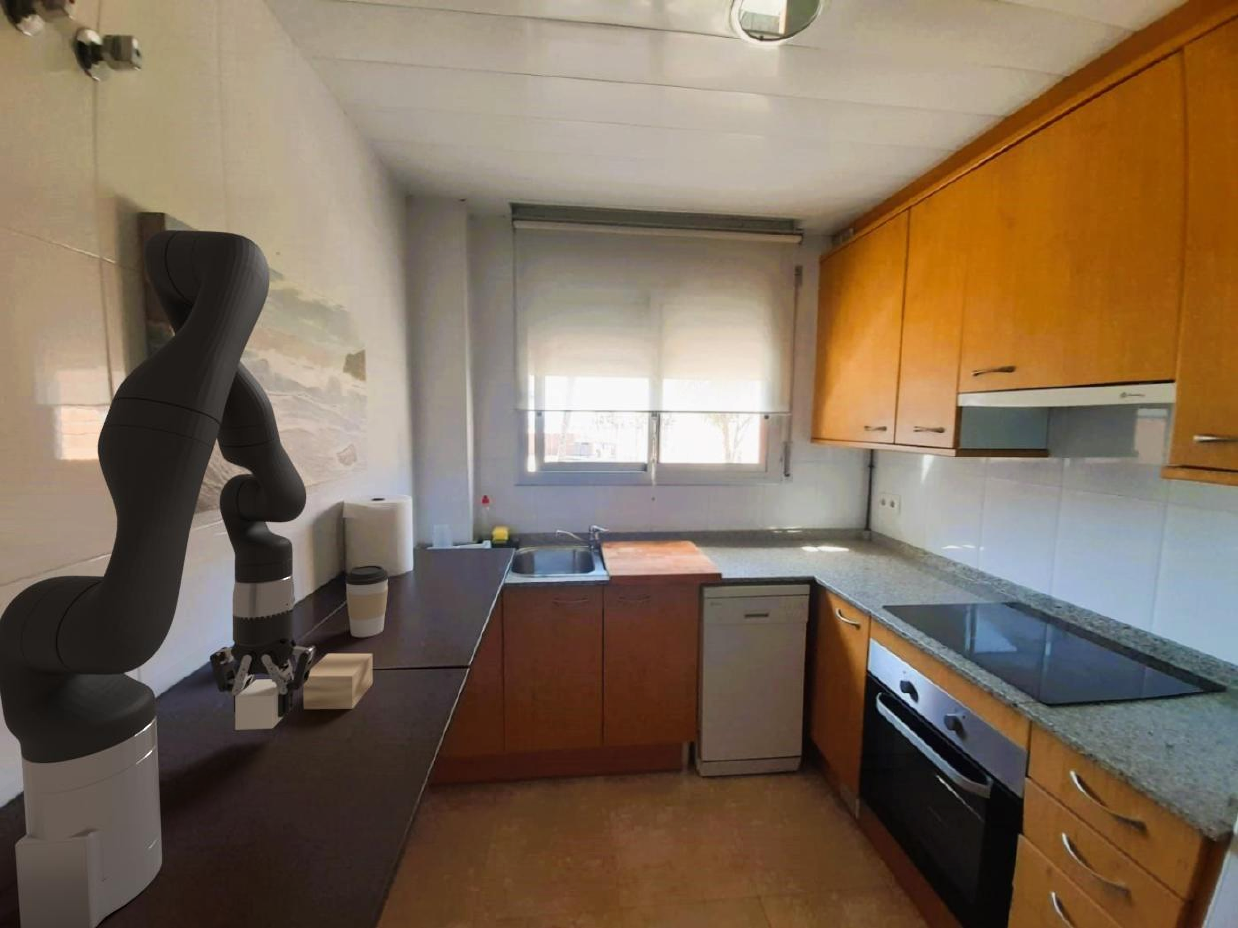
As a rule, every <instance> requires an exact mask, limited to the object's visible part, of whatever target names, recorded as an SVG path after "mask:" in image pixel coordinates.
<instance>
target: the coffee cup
mask: <svg viewBox="0 0 1238 928" xmlns="http://www.w3.org/2000/svg"><path fill="white" fill-rule="evenodd" d="M388 573H389V571H387V570H386V569H384V567H383V566H380V565H373V564H371V565H363V566H354V567H352V568H351V569H350V572H349V573H348V574H346V577H345V580H344V583H345V585H346V591H345V593H346V603H347V611H348V612H347V613H348V617H349V625H350V634H351V636H352V637H353V638H354V637H355V638H367V637H372V636H376V635H378V634H381V633H382V632H383V630H384V629H385V628H384V626H385V613H386V610H387V601H388V590H389V586H388V581H389V578H390V575H389V574H388Z"/></svg>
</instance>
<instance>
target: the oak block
mask: <svg viewBox="0 0 1238 928" xmlns="http://www.w3.org/2000/svg"><path fill="white" fill-rule="evenodd" d="M373 671H374V670H373V653H327V654H325V655H324V657H322V658H321V659H320V660H319V661H318V662H317V663H315V665H313V666H312V667H311V670H310V674H309V677H308V680H307V681H306V682H305V683H304V684H303V685H302V686H303V693H302V694H303V695H302V697H303V710H323V709H324V710H342V709H343V710H345V709H346V710H350V709H351V710H353V709H354V708H355V707H356V705H357V704H358V703H359V701H361V699H362V698H363V696H364V694H366V692H367V691H368V690H369V688H370V687H372V684H373V683H374V682H373V679H374V678H373V674H374V673H373Z"/></svg>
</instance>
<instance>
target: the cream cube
mask: <svg viewBox="0 0 1238 928" xmlns="http://www.w3.org/2000/svg"><path fill="white" fill-rule="evenodd" d="M279 694H280V693H279V691H278V688H277V686H276V683H275V682H272V680H271V678H270V679H255V680H254V681H252V682H251V684H250V685H249V686H248V687H247V688H246V689H244V690H243V691H242V692H241V693H240V694H238V695H237V696H236V697H235V713H234V716H235V718H234V720H235V725H234V728H235V730H236V731H237V730H239V731H243V730H263V729H264V730H265V729H267V730H268V729H271V730H272V729H273V728H275V726H276V725H277V724H278V723H279V722H280V721H281V720H283V718H284V717H278V695H279Z"/></svg>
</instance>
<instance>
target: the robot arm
mask: <svg viewBox="0 0 1238 928" xmlns="http://www.w3.org/2000/svg"><path fill="white" fill-rule="evenodd" d="M262 250H263V249H261V247H259V245H258V244H256V243H255V242H254V241H253V240H251V239H250V238H248V237H246V236H244V235H243V234H242V235H241V234H237V233H232V232H226V231H213V230H184V229H183V230H182V229H181V230H179V229H178V230H177V229H170V230H169V229H166V230H160V231H156V232H154V233H153V234H152V235H150V236H149V237H148V239H147V241H146V242H145V243H144V248H143V263H144V267H145V271H146V274H147V276H148V277H147V278H148V280H149V283H150V285H151V287H152V291H153V292H154V295H155V296H156V298H157V301H158V303H159V305H160V307H161V308H162V312H163V313H164V315H165V317H166V319H167V321H168V323H169V325H170V327H171V329H172V331H173V333H174V335H173V336H172V337H171V338H169V339H168V340H167V341H166V342H165V343H164V344H163V345H161V346H159V348H158V349H156V350H155V351H154V352H153V353H151V354H150V356H148V357H147V358H145V360H143V361H142V362H141V363H140V364H139V365H138V366H137V367H135V368H134V369H133V370H132V371H131V372H130V373H129V374H128V375H127V376H126V377H125V378H124V379H123V381H122V382H121V383H120V385H119V386H118V388H117V390H116V391H115V394H114V396H113V398H112V401H111V403H110V406H109V409H108V411H107V414H106V417H105V419H104V422H103V425H102V427H101V430H100V433H99V437H98V439H97V440H98V441H97V456H98V463H99V465H100V469H101V472H102V476H103V477H104V478H103V479H104V481H105V483H106V486H107V488H108V491H109V494H110V497H111V499H112V502H113V505H114V506H113V507H114V509H115V514H116V534H115V539H114V543H113V548H112V551H111V554H110V558H109V561H108V563H107V567H106V569H105V572H104V574H103V575H102V576H100V575H62V576H54V577H49V578H46V579H43V580H41V581H37V582H35V583H33V584H31V585H29V586H27V588H24V589H23V590H22V591H21V592H19V593H18V594H17V595H16V596H15V597H14V598H13V599H12V600H11V601H10V602H9V604H8V605H7V606H6V608H5V609H4V611H3V613H2V614H1V616H0V701H1V708H2V715H3V716H2V717H3V719H4V723H5V726H6V727H7V730H8V731H9V732H10V733H11V734H12V735H13V737H15V738H16V740H18V742H19V744H20V745H19V746H20V755H21V756H20V757H21V766H22V767H21V768H22V769H21V770H22V785H23V787H22V788H23V801H24V803H23V804H24V814H25V815H24V816H25V830H26V834H25V835H24V836H23V837H22V838H20V839H19V840H18V841H17V842H16V843H15V846H14V847H15V849H14V850H15V862H16V864H15V865H16V877H17V892H18V893H17V894H18V906H19V919H20V928H96V927H98V925H99V924H100V923H101V922H102V921H103V920H104V919H105V918H106V917H108V916H109V915H110V914H112V913H113V912H115V911H117V910H118V909H120V908H122V907H123V906H125V905H127V904H128V903H130V902H131V901H132V900H133V899H134V898H136V897H137V896H138V895H139V894H140V893H141V892H143V891H144V890H145V889H146V888H147V887H148V886H149V885H150V884H151V883H152V882H153V880H154V879H155V878H156V876H157V874H158V873H159V871H160V870H161V867H162V865H163V853H162V851H163V850H162V849H163V848H162V847H163V846H162V826H161V825H162V823H161V821H162V819H161V802H160V801H161V800H160V778H159V755H158V751H159V750H158V728H157V704H156V703H157V701H156V695H155V693H154V691H153V689H152V688H151V687H150V686H149V685H147V684H145V683H143V682H141V681H139V680H136V679H135V678H133V677H131V676H129V675H128V674H127V673H129V672H132V671H134V670H136V669H138V668H140V667H142V666H143V665H145V664H146V663H147V662H148V661H150V659H152V658H153V657H154V656H155V655H156V653H157V652H158V651H159V649H161V647H162V645H163V643H164V642H165V640H166V639H167V636H168V634H169V632H170V629H171V627H172V624H173V621H174V618H175V614H176V612H177V611H176V610H177V606H178V602H179V596H180V591H181V590H180V589H181V584H182V579H183V573H184V566H185V560H186V555H187V548H188V543H189V537H190V532H191V529H192V523H193V520H194V517H195V511H196V508H197V504H198V500H199V497H200V492H201V488H202V485H203V482H204V478H205V475H206V471H207V468H208V466H209V463H210V460H211V457H212V455H213V452H214V449H215V445H216V441H217V444H218V448H219V451H220V454H221V455H222V458H223V459H224V460H225V461H226V462H227V463H229V464H232V465H235V466H237V467H241V468H244V469H246V470H248V472H250V473H241V474H237V475H234V476H233V477H230V479H228V481H227V482H226V483H225V484H224V485H223V487H222V489H221V492H220V496H219V502H218V503H219V510H220V511H219V512H220V514H221V518H222V521H223V523H224V526H225V529H226V532H227V535H228V539H229V542H230V544H231V546H232V550H233V552H234V586H233V591H232V641H233V642H234V643H233V646H232V647H228V646H224V647H221V648H220V649H219V650H216V651H215V652H214V653H212V654H211V655H210V656H209V660H210V664H211V665H210V666H211V669H212V671H213V675H214V678H215V681H216V685H217V689H218V691H219V692H221V693H224V692H229V693H231V695H233V712H234V714H235V697H236V696H237V695H238V694H240V693H241V692H242V691H243V690H244V689H246V688H247V687H248V686H249V685H250V684H252V683H253V680H254V677H255V675H258V674H263V675H264V674H265V675H268V676H269V678H270V679H271V680H272V682H275V683H276V686H277V688H278V691H279V693H280V694H279V695H278V717H283V718H284V717H285V716H286V715H287V714H288V713H289V712H290V711H291V710H292V709H293V707H294V705H295V703H294V702H295V699H294V697H295V696H294V693H295V691H297V690H299V689H300V688H301V687H302V686H303V684H304V683H305V682H306V681H307V680H308V677H309V674H310V670H311V669H312V667H313V662H314V658H315V655H316V652H317V648H316V646H315V645H310V646H308V647H304V646H300V645H298V644H297V642H296V640H295V638H294V632H295V603H296V596H295V584H294V582H295V581H294V576H293V561H294V560H293V559H294V558H293V557H294V556H293V554H294V553H293V552H294V551H293V549H294V548H293V543H292V541H291V540H290V539H289V538H287V537H285V536H283V535H279V534H276V533H274V532H272V531H271V530H270V528H269V527H268V524H267V523H283V524H284V523H289V522H292V521H294V520H296V519H298V517H299V516H300V515H301V514H302V512H304V510H305V507H306V504H307V489H306V486H305V484H304V483H305V482H304V480H303V479H302V476H301V475H300V474H299V473H300V472H298V470H297V468H296V467H295V465H294V463H293V462H292V460H291V459H290V457H289V454H288V453H287V452H286V450H285V448H284V446H283V445H282V442H281V437H280V434H279V429H278V425H277V421H276V416H275V413H274V409H273V405H272V403H271V401H270V399H269V397H268V394H267V393H266V391H265V390H264V389H263V387H262V385H261V384H260V382H259V381H258V379H256V378H255V377H254V375H253V374H252V373H251V372H250V371H249V370H248V368H247V367H246V366H245V364H243V363H242V361H241V359H242V356H243V353H244V352H245V351H244V350H245V349H246V347H247V344H248V342H249V340H250V337H251V335H252V333H253V331H254V329H255V326H256V324H257V322H258V320H259V318H260V316H261V314H262V313H261V312H262V311H263V310H264V309H263V308H264V306H265V304H266V300H267V298H268V293H269V289H270V269H269V268H270V267H269V264H268V261H267V258H266V256H265V254H264V252H263V251H262ZM292 655H293V656H294V658H295V660H294V663H297V665H296V669H295V672H294V674H293V666H292V662H291V660H290V658H291V657H292ZM234 660H235V661H236V662H237V663H238V665H239V668H238V671H237V672H236V669H235V663H234V662H233V661H234Z"/></svg>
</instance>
